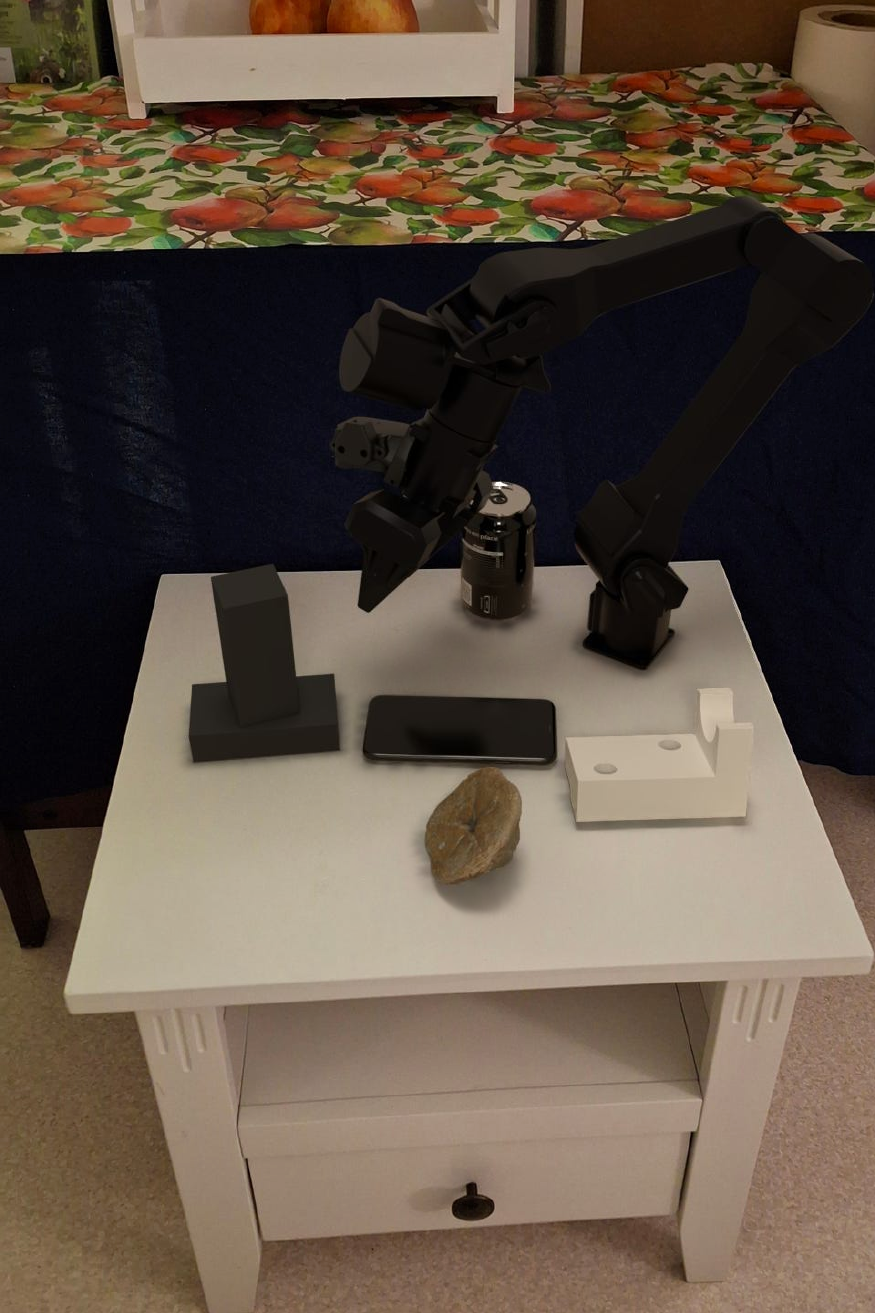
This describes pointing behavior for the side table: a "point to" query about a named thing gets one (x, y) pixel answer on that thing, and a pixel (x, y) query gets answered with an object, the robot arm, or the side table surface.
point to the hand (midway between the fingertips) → (384, 591)
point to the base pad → (263, 724)
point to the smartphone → (461, 730)
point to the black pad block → (256, 644)
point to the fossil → (474, 827)
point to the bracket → (665, 769)
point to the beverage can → (499, 555)
